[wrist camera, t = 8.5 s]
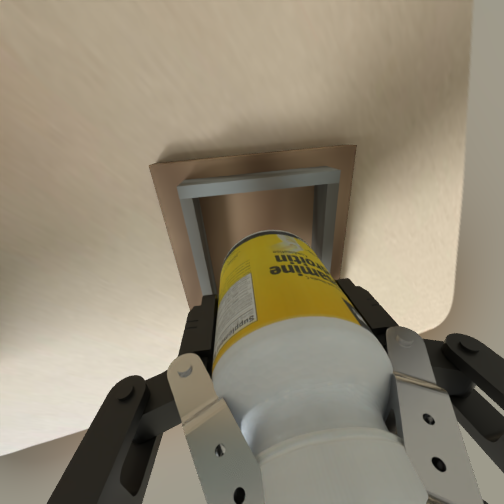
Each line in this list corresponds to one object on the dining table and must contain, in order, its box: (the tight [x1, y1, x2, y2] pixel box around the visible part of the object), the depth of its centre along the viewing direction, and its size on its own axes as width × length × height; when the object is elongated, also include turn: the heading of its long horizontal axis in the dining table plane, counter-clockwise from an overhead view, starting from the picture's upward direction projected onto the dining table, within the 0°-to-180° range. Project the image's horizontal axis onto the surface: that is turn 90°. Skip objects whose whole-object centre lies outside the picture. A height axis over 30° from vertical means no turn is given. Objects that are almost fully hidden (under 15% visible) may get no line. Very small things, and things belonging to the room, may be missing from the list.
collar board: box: [149, 145, 357, 311], centre depth 18 cm, size 15×14×4 cm
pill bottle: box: [211, 230, 428, 504], centre depth 10 cm, size 6×6×12 cm
